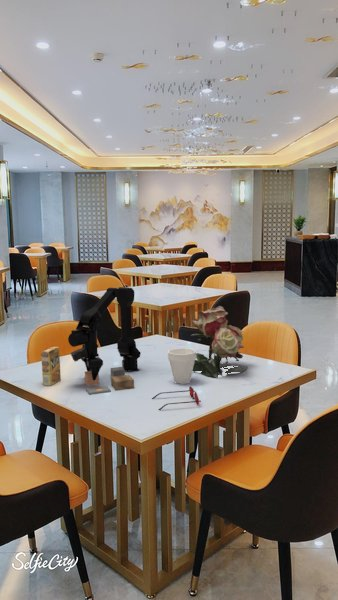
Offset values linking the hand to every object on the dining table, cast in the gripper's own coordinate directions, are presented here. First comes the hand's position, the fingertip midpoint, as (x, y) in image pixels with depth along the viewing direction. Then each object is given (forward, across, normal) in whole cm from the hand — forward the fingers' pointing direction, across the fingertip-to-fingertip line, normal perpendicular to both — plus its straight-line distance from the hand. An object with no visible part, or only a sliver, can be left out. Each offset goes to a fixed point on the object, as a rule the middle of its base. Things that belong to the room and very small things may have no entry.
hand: (91, 377), depth 224 cm
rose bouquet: (+3, +3, +61) cm, 61 cm away
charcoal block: (+3, -1, +12) cm, 12 cm away
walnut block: (+3, +10, +11) cm, 15 cm away
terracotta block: (+3, 0, 0) cm, 3 cm away
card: (+3, +12, 0) cm, 12 cm away
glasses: (+3, +38, +24) cm, 45 cm away
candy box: (+3, -8, -16) cm, 18 cm away
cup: (+3, +14, +37) cm, 40 cm away
